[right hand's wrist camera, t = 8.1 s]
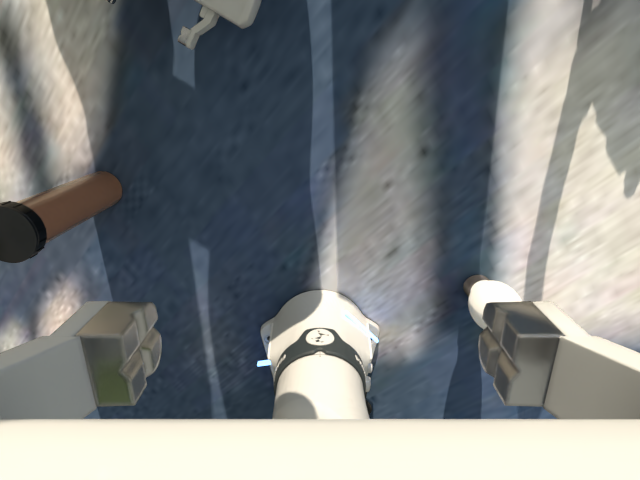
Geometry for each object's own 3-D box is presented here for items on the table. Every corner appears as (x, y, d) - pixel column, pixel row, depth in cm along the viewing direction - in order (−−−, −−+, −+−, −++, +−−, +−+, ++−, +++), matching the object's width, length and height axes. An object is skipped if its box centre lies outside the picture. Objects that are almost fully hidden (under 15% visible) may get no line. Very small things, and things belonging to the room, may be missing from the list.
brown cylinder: (125, 177, 57) (37, 218, 40) (119, 210, 59) (32, 263, 41) (88, 166, 57) (-18, 202, 39) (84, 199, 59) (-20, 249, 41)
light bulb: (451, 302, 64) (476, 343, 54) (460, 262, 62) (488, 298, 51) (494, 306, 64) (527, 347, 54) (504, 266, 62) (541, 302, 52)
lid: (50, 211, 41) (39, 216, 39) (45, 264, 43) (34, 270, 41) (-12, 192, 40) (-26, 197, 38) (-15, 247, 42) (-28, 253, 40)
